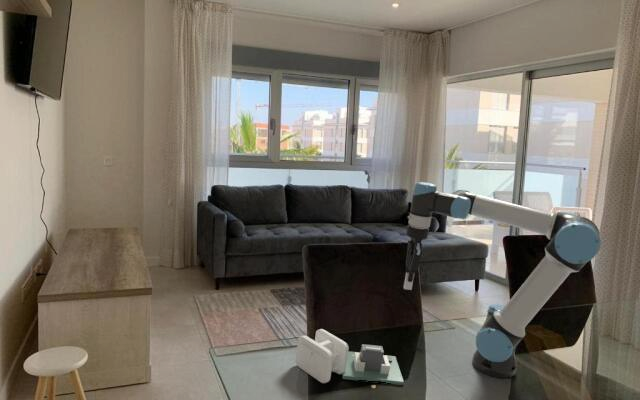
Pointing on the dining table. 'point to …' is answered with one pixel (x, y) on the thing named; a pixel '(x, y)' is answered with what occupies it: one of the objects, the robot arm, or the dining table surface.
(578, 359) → the dining table surface
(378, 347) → the plug
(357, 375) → the board
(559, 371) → the dining table surface
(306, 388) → the dining table surface
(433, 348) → the dining table surface
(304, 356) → the cable organizer
